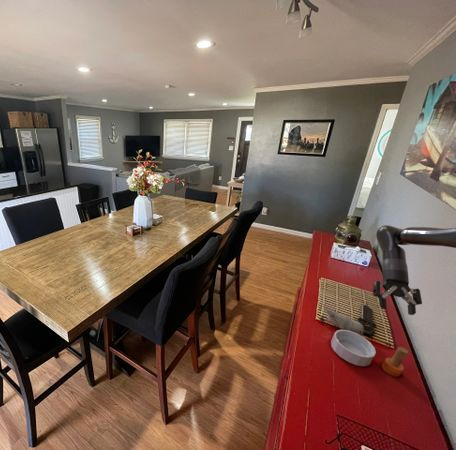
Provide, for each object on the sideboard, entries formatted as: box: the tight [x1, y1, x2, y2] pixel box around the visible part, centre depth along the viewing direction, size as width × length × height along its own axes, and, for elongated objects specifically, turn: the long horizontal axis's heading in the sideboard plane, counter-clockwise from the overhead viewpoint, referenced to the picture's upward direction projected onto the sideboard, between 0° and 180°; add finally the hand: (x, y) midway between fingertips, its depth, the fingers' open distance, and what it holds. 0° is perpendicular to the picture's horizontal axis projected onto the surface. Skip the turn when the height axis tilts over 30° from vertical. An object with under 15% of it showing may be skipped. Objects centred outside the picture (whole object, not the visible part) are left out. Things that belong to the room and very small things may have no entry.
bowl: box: [330, 329, 377, 367], centre depth 97 cm, size 13×13×6 cm
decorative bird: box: [320, 307, 365, 337], centre depth 109 cm, size 5×16×8 cm, turn 55°
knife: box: [357, 304, 377, 337], centre depth 115 cm, size 25×6×1 cm, turn 135°
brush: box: [381, 346, 409, 378], centre depth 89 cm, size 5×5×11 cm
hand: (397, 311), depth 93 cm, fingers open, 8 cm apart
